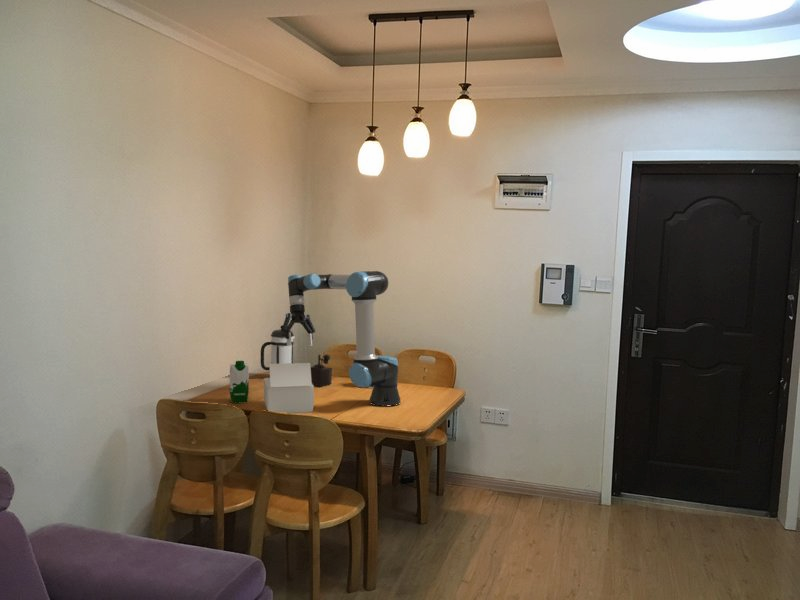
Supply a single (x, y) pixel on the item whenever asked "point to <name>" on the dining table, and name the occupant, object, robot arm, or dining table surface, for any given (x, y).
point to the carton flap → (290, 375)
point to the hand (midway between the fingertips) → (299, 345)
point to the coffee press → (278, 349)
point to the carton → (288, 398)
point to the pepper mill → (321, 373)
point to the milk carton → (239, 382)
